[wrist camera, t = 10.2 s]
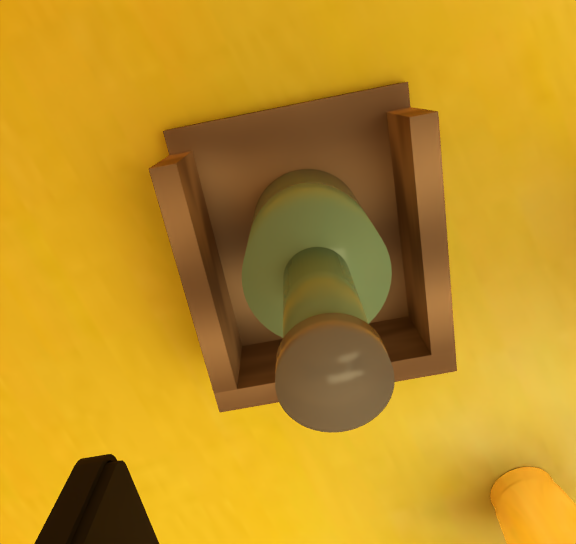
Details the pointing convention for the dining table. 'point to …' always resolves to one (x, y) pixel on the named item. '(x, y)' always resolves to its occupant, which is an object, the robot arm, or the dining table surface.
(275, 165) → the u rest
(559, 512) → the cup with straw
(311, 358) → the bottle
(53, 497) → the dining table surface
